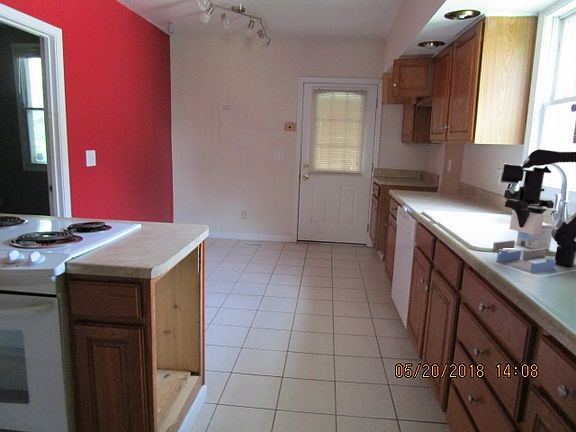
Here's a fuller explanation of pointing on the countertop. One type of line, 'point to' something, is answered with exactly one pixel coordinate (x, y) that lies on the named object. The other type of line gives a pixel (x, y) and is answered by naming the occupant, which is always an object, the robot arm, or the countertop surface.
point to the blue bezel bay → (524, 262)
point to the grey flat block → (524, 254)
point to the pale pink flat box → (528, 223)
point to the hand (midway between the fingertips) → (525, 227)
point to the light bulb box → (536, 238)
